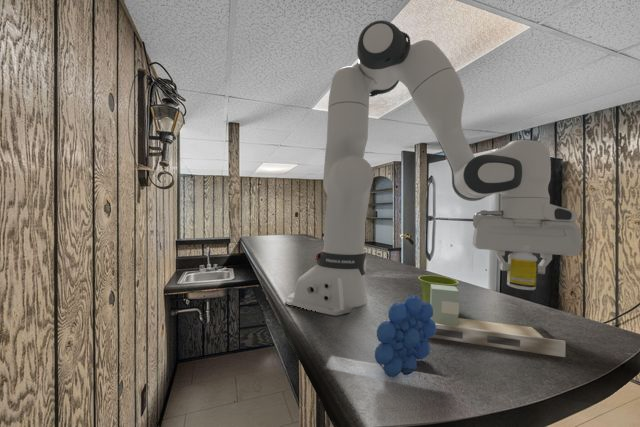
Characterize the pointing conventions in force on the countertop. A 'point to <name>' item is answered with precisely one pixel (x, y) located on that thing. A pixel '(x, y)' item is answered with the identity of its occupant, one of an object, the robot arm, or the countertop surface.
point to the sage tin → (444, 304)
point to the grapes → (405, 336)
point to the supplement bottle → (522, 269)
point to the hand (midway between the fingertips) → (521, 271)
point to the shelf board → (500, 336)
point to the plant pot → (436, 280)
